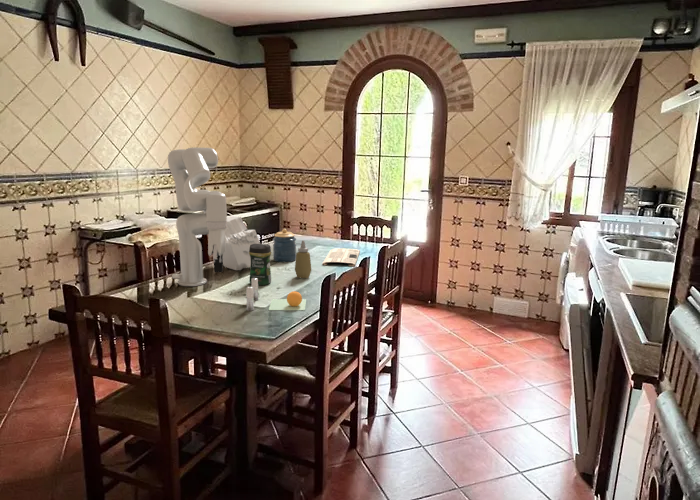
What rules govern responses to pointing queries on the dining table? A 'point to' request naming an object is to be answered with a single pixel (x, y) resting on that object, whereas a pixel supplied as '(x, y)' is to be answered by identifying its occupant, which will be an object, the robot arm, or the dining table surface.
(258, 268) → the coffee jar
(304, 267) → the squeeze bottle
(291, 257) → the canister
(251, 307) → the post
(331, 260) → the newspaper
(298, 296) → the ball
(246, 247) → the white lumpy block
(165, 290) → the dining table surface
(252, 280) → the post
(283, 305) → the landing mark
